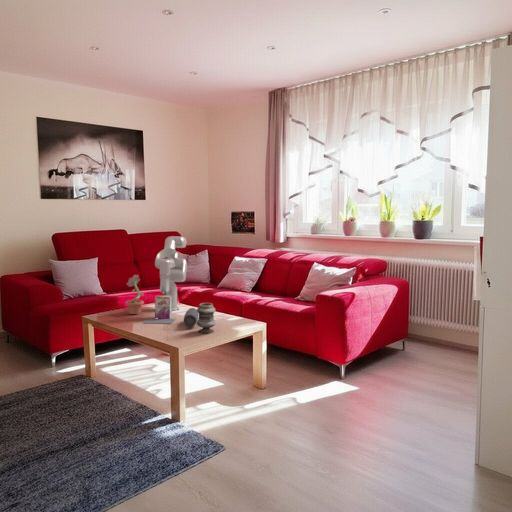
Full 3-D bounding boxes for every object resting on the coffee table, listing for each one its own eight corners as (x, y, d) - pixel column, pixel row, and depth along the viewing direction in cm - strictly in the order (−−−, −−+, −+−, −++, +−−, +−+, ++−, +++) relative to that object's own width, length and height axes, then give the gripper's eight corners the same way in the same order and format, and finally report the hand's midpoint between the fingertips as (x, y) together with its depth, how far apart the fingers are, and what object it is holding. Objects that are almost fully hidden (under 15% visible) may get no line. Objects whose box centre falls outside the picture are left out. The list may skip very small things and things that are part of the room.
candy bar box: (154, 318, 327) (154, 296, 325) (157, 317, 332) (156, 295, 330) (169, 319, 326) (169, 296, 324) (171, 317, 331) (171, 295, 329)
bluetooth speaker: (197, 328, 299) (197, 314, 298) (183, 329, 298) (182, 314, 297) (199, 321, 321) (199, 307, 320) (185, 321, 320) (185, 307, 320)
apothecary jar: (195, 333, 286) (195, 305, 285) (198, 328, 298) (198, 302, 297) (214, 334, 286) (214, 305, 284) (216, 329, 298) (216, 302, 296)
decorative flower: (137, 311, 353) (136, 272, 350) (148, 313, 345) (148, 274, 342) (121, 314, 341) (120, 274, 338) (133, 316, 333) (132, 276, 330)
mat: (148, 318, 326) (148, 318, 326) (176, 319, 325) (176, 318, 325) (142, 323, 312) (142, 322, 312) (171, 324, 311) (171, 323, 311)
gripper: (162, 275, 339) (162, 299, 341) (157, 277, 325) (157, 303, 326) (172, 275, 339) (172, 299, 340) (167, 277, 324) (167, 303, 326)
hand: (165, 301), depth 333 cm, fingers closed
